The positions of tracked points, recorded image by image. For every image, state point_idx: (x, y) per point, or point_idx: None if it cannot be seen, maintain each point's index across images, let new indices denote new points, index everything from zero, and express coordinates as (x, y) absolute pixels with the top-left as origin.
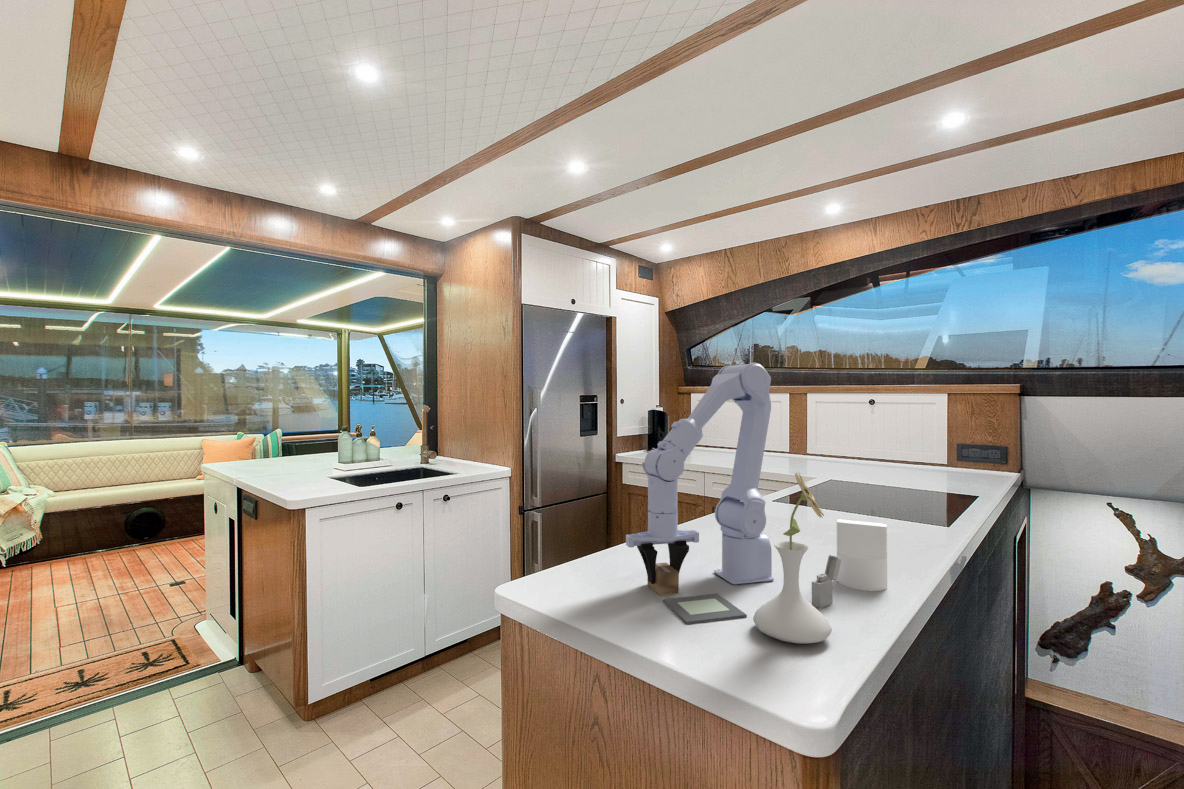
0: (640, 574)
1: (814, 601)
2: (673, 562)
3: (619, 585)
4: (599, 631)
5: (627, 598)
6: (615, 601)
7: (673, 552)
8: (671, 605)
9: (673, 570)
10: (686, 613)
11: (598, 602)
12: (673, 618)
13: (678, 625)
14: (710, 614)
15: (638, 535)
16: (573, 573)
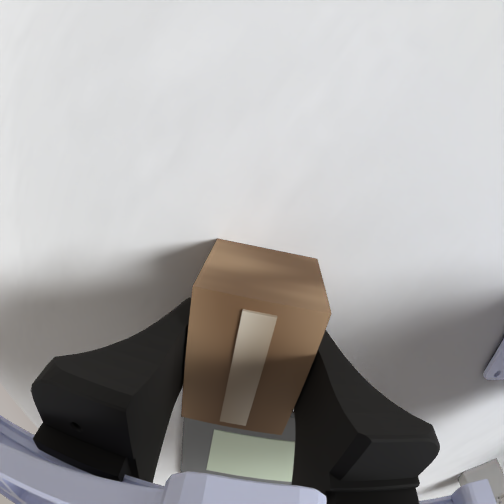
0: (263, 89)
1: (463, 482)
2: (307, 411)
3: (94, 195)
4: (22, 404)
5: (87, 322)
6: (51, 321)
7: (311, 458)
8: (188, 431)
9: (272, 418)
10: (201, 463)
11: (13, 301)
12: (167, 452)
13: (163, 467)
14: (252, 480)
15: (7, 491)
16: (13, 10)
